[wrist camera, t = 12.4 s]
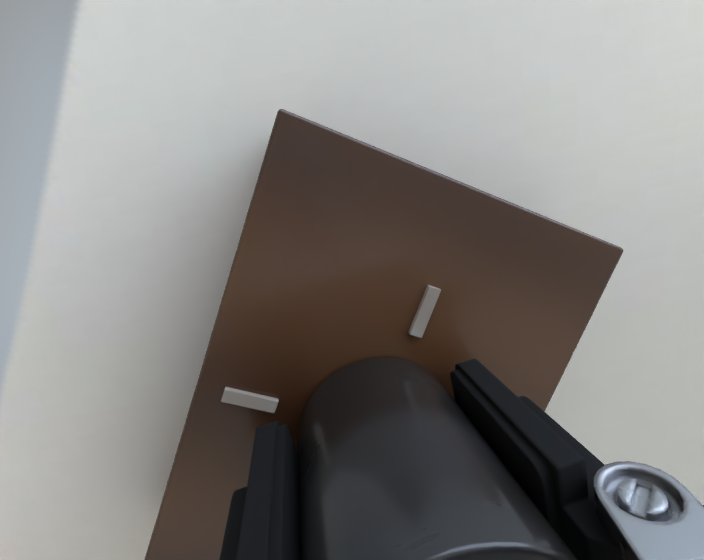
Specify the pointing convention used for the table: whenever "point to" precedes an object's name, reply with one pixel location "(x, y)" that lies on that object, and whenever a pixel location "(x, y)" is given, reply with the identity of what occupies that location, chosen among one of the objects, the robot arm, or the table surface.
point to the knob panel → (367, 304)
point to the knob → (407, 475)
